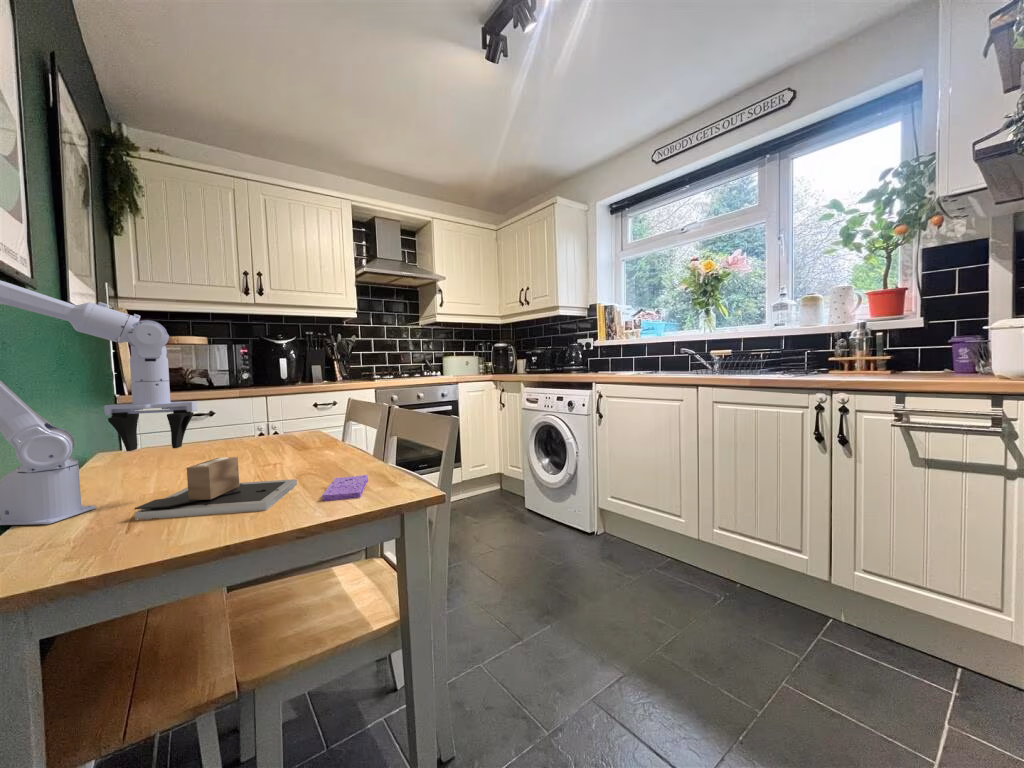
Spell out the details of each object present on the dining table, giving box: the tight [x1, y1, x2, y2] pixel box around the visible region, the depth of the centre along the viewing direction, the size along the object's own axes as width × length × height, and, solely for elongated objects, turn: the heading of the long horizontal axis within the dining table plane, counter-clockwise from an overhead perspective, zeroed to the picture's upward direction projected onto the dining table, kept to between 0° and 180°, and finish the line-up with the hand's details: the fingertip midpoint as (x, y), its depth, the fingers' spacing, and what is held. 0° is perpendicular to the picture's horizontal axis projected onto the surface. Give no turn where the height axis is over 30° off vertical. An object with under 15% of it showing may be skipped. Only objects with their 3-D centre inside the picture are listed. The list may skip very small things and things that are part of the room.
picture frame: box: [134, 478, 298, 521], centre depth 79 cm, size 16×3×21 cm
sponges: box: [321, 474, 369, 502], centre depth 85 cm, size 7×13×2 cm, turn 13°
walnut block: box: [186, 456, 240, 500], centre depth 78 cm, size 8×4×6 cm, turn 1°
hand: (154, 448), depth 82 cm, fingers open, 7 cm apart
